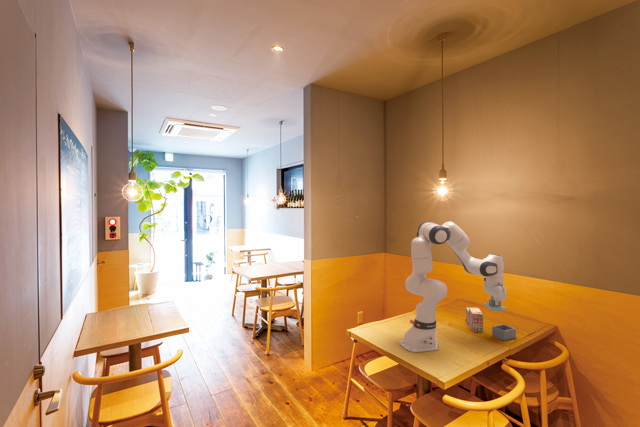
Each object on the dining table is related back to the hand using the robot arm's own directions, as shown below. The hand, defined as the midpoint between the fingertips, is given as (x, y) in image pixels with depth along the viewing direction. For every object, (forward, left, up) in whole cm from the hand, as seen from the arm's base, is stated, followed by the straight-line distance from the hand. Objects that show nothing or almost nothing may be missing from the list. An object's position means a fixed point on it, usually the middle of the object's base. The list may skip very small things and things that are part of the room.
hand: (494, 303), depth 187 cm
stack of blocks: (+6, +20, -22) cm, 31 cm away
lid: (0, 0, -3) cm, 3 cm away
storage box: (+8, 0, -22) cm, 23 cm away
